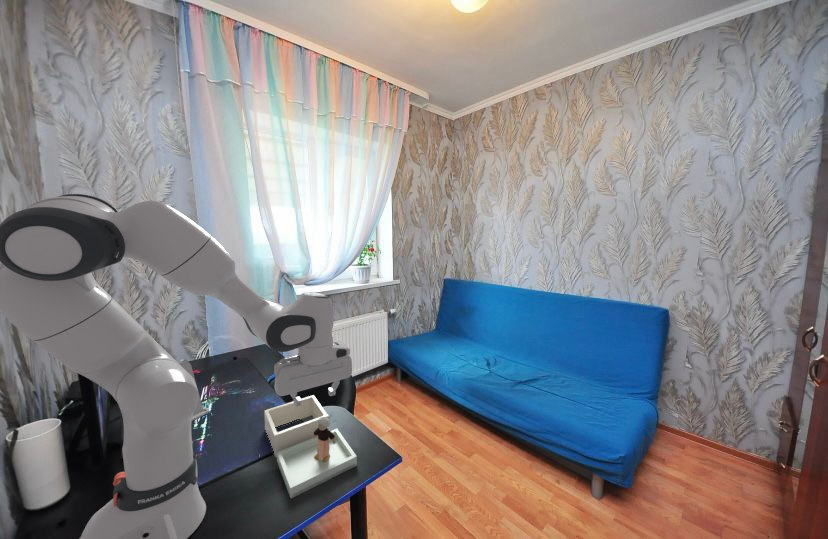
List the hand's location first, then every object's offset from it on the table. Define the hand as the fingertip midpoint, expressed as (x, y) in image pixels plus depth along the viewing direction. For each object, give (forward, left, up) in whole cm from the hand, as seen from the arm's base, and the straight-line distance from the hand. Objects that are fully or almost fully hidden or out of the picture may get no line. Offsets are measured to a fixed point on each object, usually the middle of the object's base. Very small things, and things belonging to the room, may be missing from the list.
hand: (315, 399), depth 82 cm
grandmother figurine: (+2, 0, -19) cm, 19 cm away
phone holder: (-32, +44, -20) cm, 59 cm away
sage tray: (0, 0, -20) cm, 20 cm away
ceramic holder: (-1, +16, -20) cm, 26 cm away
